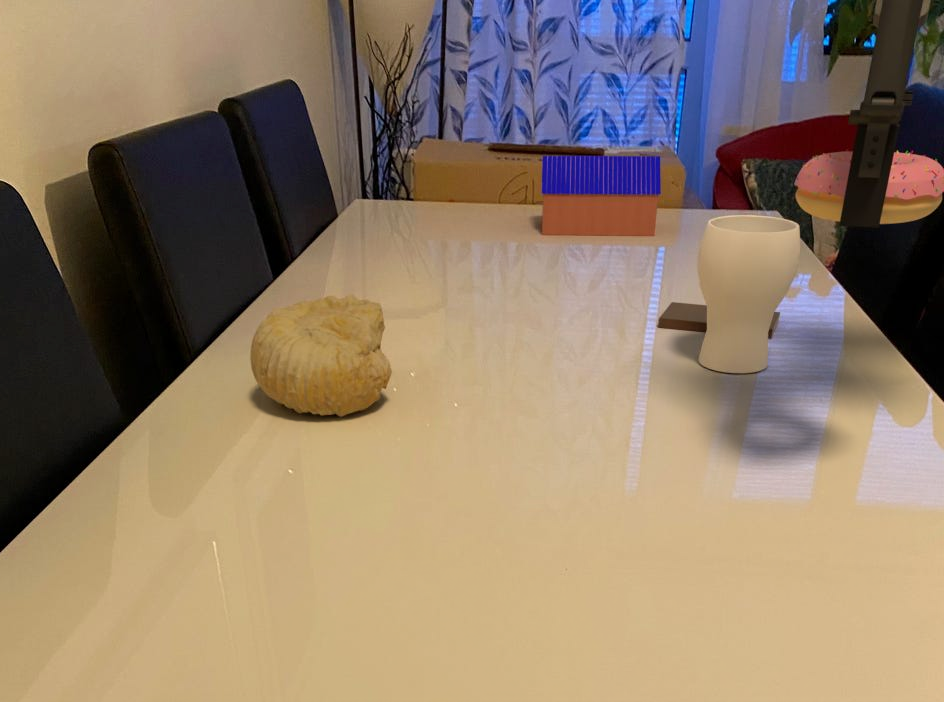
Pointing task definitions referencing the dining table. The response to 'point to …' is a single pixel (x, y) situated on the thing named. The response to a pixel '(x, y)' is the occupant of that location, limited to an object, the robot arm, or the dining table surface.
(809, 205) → the doughnut
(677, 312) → the walnut coaster board
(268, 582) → the dining table surface
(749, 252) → the cup
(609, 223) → the house
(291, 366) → the seashell
